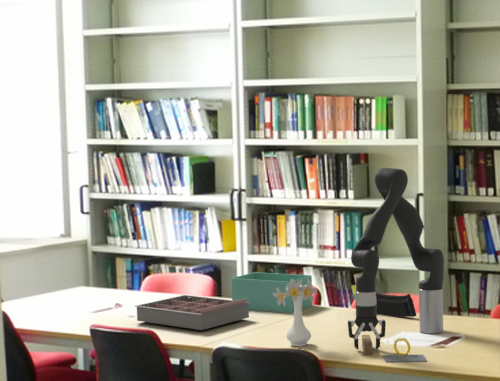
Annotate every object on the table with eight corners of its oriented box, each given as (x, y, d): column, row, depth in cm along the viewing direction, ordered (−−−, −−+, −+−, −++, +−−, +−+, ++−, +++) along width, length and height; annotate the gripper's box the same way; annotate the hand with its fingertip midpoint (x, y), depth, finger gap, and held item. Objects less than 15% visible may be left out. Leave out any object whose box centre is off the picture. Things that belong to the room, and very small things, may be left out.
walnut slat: (362, 347, 325) (361, 335, 325) (369, 346, 325) (369, 334, 325) (364, 356, 311) (364, 343, 311) (372, 355, 311) (372, 343, 311)
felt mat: (383, 356, 309) (383, 355, 309) (423, 355, 309) (423, 354, 309) (386, 362, 300) (386, 361, 300) (426, 361, 300) (426, 360, 300)
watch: (393, 354, 312) (391, 338, 312) (397, 353, 314) (395, 336, 314) (408, 355, 308) (406, 338, 308) (412, 354, 311) (410, 337, 311)
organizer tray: (185, 311, 407) (184, 290, 406) (251, 320, 381) (250, 298, 381) (134, 323, 382) (134, 301, 381) (202, 334, 356) (201, 310, 356)
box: (291, 313, 395) (290, 281, 394) (232, 308, 411) (231, 278, 411) (312, 305, 412) (311, 275, 411) (255, 301, 429) (254, 272, 428)
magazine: (421, 298, 371) (367, 272, 392) (416, 299, 369) (362, 273, 389) (412, 334, 376) (359, 307, 396) (407, 336, 374) (355, 308, 394)
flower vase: (269, 347, 328) (267, 281, 327) (301, 338, 341) (299, 275, 340) (296, 352, 319) (293, 284, 318) (327, 342, 332) (325, 278, 331)
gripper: (384, 301, 321) (385, 346, 321) (345, 302, 321) (346, 346, 322) (387, 305, 313) (388, 350, 314) (346, 305, 314) (348, 351, 315)
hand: (367, 348), depth 318 cm, fingers open, 6 cm apart
